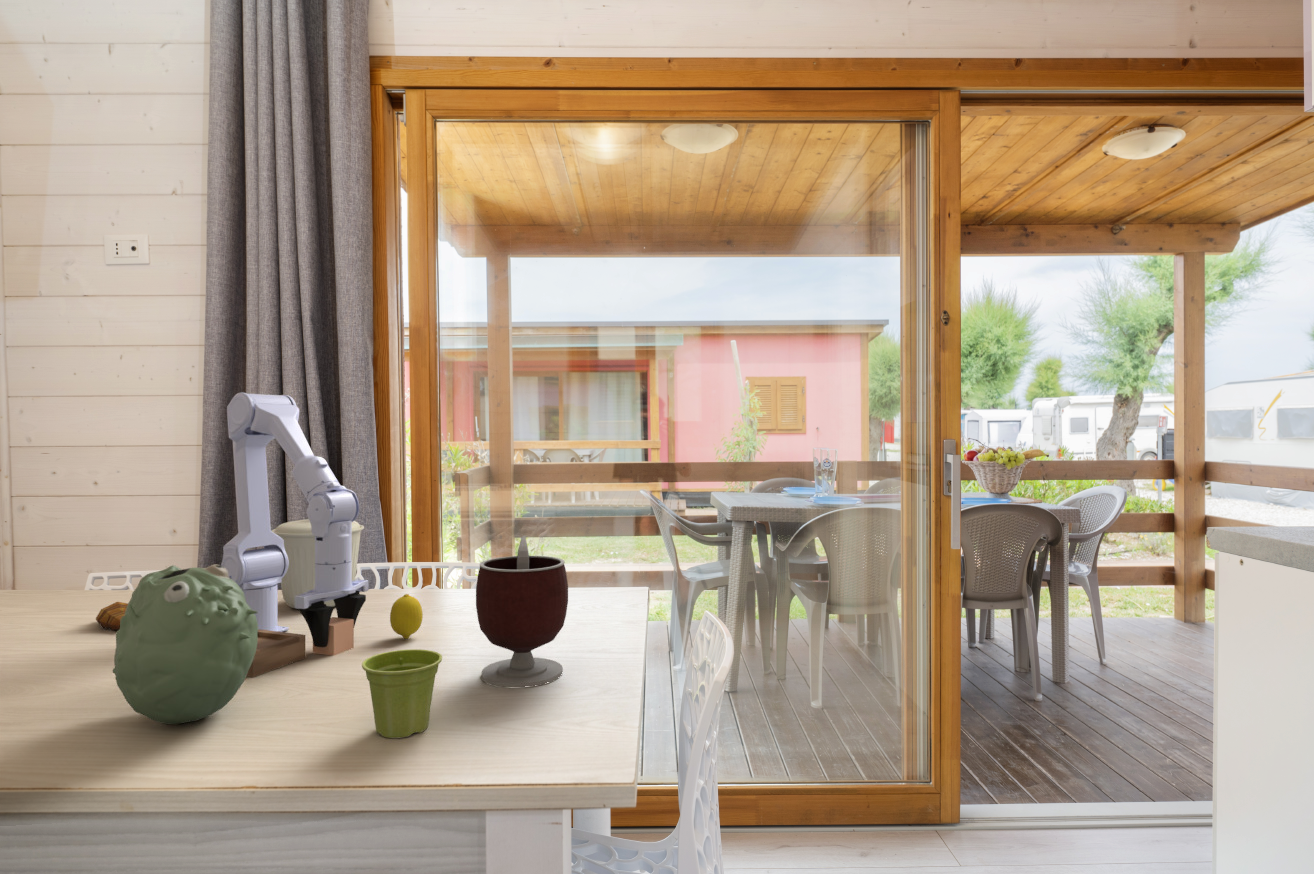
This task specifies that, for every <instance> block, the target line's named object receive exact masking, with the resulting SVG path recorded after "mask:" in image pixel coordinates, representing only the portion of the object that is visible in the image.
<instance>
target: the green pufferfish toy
mask: <svg viewBox="0 0 1314 874" xmlns="http://www.w3.org/2000/svg"><path fill="white" fill-rule="evenodd" d="M130 597H131V598H130V600H129V601H128V603H127V604H128V605H127V608H126V611H125V615H124V616H123V617H122V618H121V621H120V630H118V631H115V632H116V633H115V653H114V660H113V661H114V668H113V669H112V673H113V674H114V677H115V680H116V684H117V687H118V689H119V690H120V692H121V693H122V695H123V697H124V699H125V701H126V702H127V704H128V705H129V707H131V709H132V710H133V711H134V712H135V713H137V714H140V715H142V716H144V717H146V718H148V719H150V720H153V721H155V722H158V723H160V724H167V725H179V724H184V723H190V722H196V721H199V720H202V719H204V718H205V719H206V718H208V717H210V716H212V715H214V714H215V713H217V712H218V711H220V710H221V709H223V708H224V707H226V706H227V704H229V703H230V701H231V700H232V699H233V698H234V697H235V696H236V694H237V693H238V690H240V688H241V687H242V685H243V684H244V682H245V680H246V678H247V677H248V676H247V673H248V670H249V668H250V666H251V664H252V661H253V659H254V656H255V652H256V648H257V642H258V638H257V633H258V623H257V619H256V616H255V613H258V612H257V611H255V610H251V608H250V607H249V606H248V604H247V603H246V600H245V595H244V592H243V591H242V589H241V588H240V587H239V586H238V584H237V583H236V582H235V581H233V580H231V579H229V577H228V571H227V569H226V568H225V567H223V566H222V565H221V564H217V563H216V564H211V565H209V566H207V567H189V568H183V569H182V568H179V567H178V566H176V565H170V566H169V567H167V568H165V569H162V570H159V571H153V572H149V573H148V574H146V575H144V576H143V577H141V578H140V580H139V583H138V584H137V586H136V588H135V589H134V590H133V592H132V594H131V596H130Z"/></svg>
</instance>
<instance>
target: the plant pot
mask: <svg viewBox="0 0 1314 874" xmlns="http://www.w3.org/2000/svg"><path fill="white" fill-rule="evenodd" d="M442 660H443V656H442V653H439V652H437V651H434V650H429V649H414V648H413V649H411V648H410V649H398V650H391V651H386V652H380V653H377V654H375V655H372V656H369V657H367V658H365V659H364V660H363V661H362V663H361V667H362V669H363V670H364V671H365V674H366V676H365V677H366V680H368V683H369V689H370V698H371V704H372V712H373V716H374V724H375V725H374V726H375V732H376V733H377V734H380V735H381V736H382V737H383V738H388V739H396V738H397V739H398V738H399V739H401V738H407V737H410V736H411V735H412V734H414V733H421V732H423V731H425V730H427V728H428V726H429V722H430V714H431V707H432V699H433V692H434V687H435V679H436V675H437V673H438V671H439V665H440V664H441V662H442Z"/></svg>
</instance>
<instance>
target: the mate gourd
mask: <svg viewBox="0 0 1314 874" xmlns="http://www.w3.org/2000/svg"><path fill="white" fill-rule="evenodd" d="M519 541H520V542H519V546H518V550H517V555H513V556H510V555H509V556H503V557H502V556H500V557H493V558H489V559H487V560H485V559H484V560H483V561H481V562H480V563H479V569H478V572H477V580H476V587H475V608H476V615H477V621H478V624H479V629H480V631H481V632H482V633H483V634H484V636H485V637H486V638H487V640H488V641H489V642H490V643H491V644H492V645H494V646H497V647H500V648H503V649H506V650H508V651H511V652H513V654H512V657H511V658H509V659H508V658H507V659H502V660H499V661H495V662H493V663H490V664H488V665H486V666H485V667H483V669H482V670H481V673H480V675H481V677H482V678H481V677H480V678H481V680H482V681H483V682H484V683H485V684H487V683H488V684H487V685H491V686H493V687H498V688H505V687H525V686H534V687H536V686H535V685H539V686H541V685H540V684H544V685H546V684H545V683H547V682H550V683H552V682H551V681H553V680H555V681H557V680H558V679H559V678H558V677H560V676H561V677H562V675H563V673H562V672H564V669H563V665H562V664H561V663H560V662H558V661H556V660H553V659H547V658H543V657H534V655H533V653H532V651H534V650H535V649H537V648H539V647H542V646H544V645H547V644H549V643H551V642H553V641H554V640H555V639H556V638H557V635H558V634H559V633H560V632H561V630H562V628H563V627H564V625H565V621H566V617H567V610H568V605H569V583H568V581H569V580H568V575H567V574H568V573H567V569H566V567H565V560H564V559H563V558H560V557H554V556H547V555H529V546H528V543H527V537H526V536H525V535H522V536H521V537H520V540H519ZM561 674H562V675H561ZM561 677H560V678H561ZM557 678H558V679H557ZM556 679H557V680H556ZM553 682H554V681H553ZM547 684H548V683H547ZM525 688H526V687H525Z"/></svg>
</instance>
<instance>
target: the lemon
mask: <svg viewBox="0 0 1314 874" xmlns="http://www.w3.org/2000/svg"><path fill="white" fill-rule="evenodd" d="M423 615H424V614H423V608H422V605H421V603H420V601H419V600H418V599H417V598H415V596H411V595H410V594H408V593H407V594H406V593H405V594H404V595H403V596H400V597H399V598H397V599H396V600H395V601H394V602H393V603H392V606H391V609H390V614H389V623H390V626H391V628H392V630H393V632H394V633H396V634H397V635H398V636H399V635H400V636H402V638H404V640H405V639H409V638H410V637H411V636H412V635H414V634H415V633H416V632H417V631H418V630H419V629H420V627H421V625H422V623H423Z"/></svg>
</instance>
